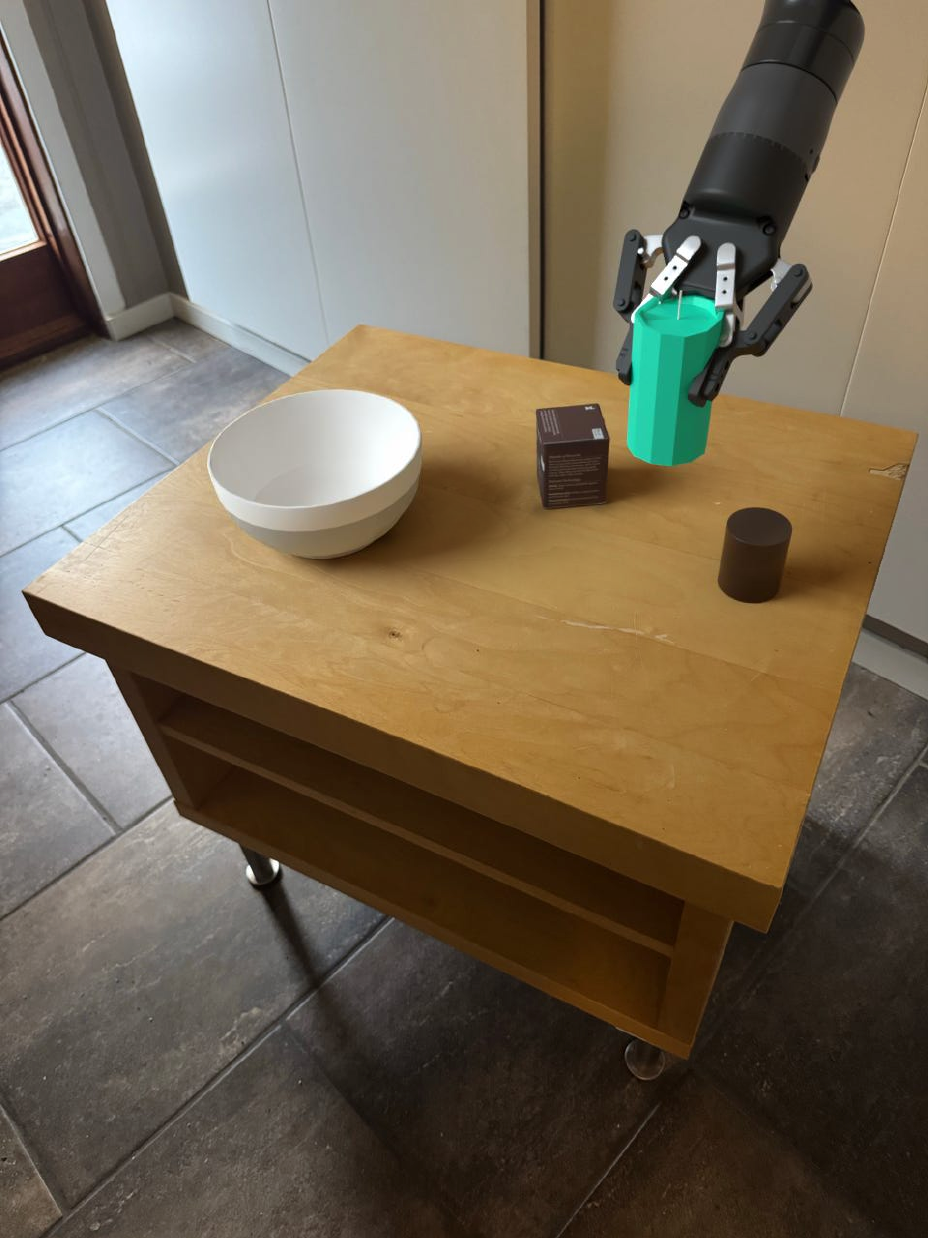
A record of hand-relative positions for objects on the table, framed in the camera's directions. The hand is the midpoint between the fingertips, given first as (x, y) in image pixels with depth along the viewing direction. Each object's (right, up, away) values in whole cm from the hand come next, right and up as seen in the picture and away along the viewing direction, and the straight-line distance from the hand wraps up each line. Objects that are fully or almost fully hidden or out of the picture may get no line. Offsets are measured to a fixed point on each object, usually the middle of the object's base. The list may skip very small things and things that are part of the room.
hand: (660, 391), depth 66 cm
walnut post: (+10, -13, +12) cm, 20 cm away
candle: (+1, -3, +5) cm, 6 cm away
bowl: (-26, -7, +22) cm, 35 cm away
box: (-4, -4, +23) cm, 24 cm away
